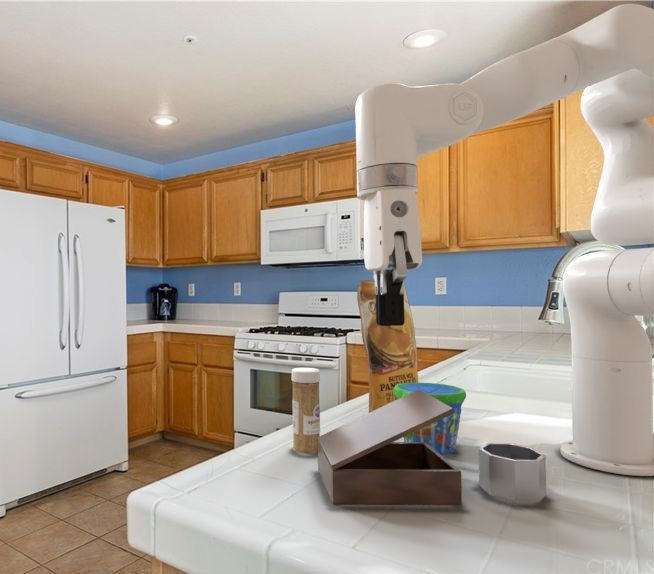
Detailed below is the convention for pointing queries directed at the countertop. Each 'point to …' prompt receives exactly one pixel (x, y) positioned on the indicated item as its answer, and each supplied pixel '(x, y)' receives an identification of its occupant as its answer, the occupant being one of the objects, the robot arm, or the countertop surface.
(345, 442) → the lid
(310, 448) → the sprinkles bottle
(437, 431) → the snack cup
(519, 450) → the steel cup
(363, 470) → the chest
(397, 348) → the pancake mix bag
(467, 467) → the countertop surface
